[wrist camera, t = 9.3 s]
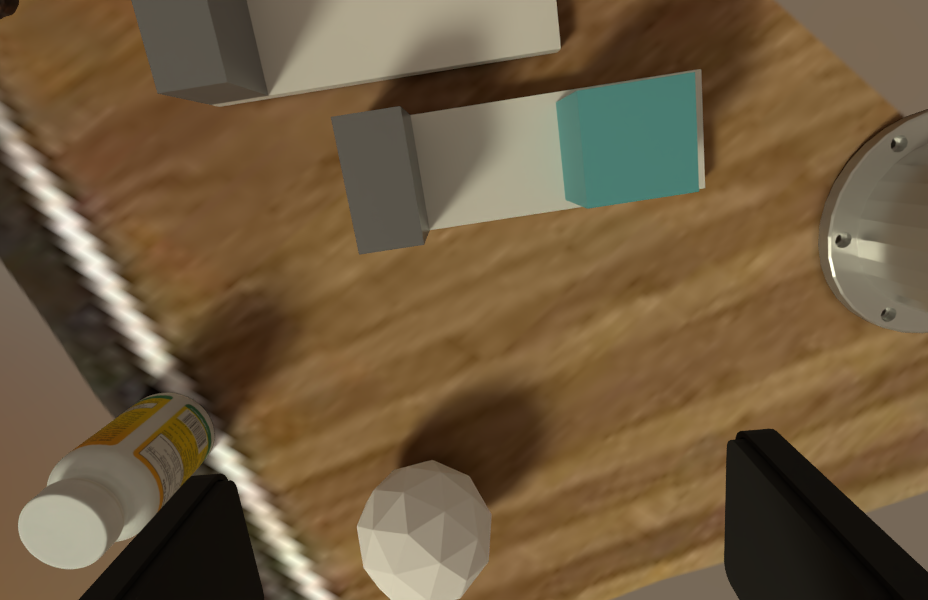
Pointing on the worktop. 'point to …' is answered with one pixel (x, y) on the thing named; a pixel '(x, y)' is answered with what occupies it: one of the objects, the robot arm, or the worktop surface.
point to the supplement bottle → (116, 480)
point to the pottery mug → (8, 7)
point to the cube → (629, 141)
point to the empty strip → (329, 42)
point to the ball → (425, 533)
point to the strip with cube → (457, 166)
